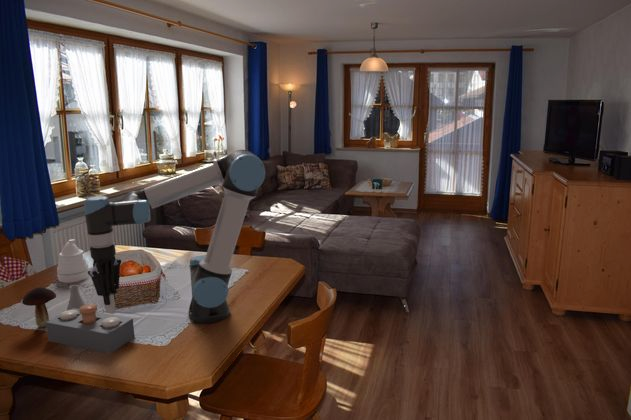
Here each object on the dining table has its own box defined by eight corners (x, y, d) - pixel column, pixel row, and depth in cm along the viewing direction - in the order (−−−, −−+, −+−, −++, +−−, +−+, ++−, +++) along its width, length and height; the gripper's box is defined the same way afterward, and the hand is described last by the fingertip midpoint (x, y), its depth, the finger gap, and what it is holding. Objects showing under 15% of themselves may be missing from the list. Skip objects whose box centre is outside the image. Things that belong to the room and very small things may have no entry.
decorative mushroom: (37, 336, 181) (31, 296, 178) (19, 328, 187) (13, 289, 184) (66, 324, 190) (61, 285, 187) (48, 317, 196) (43, 279, 193)
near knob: (125, 339, 177) (123, 318, 176) (113, 346, 172) (111, 325, 170) (112, 336, 179) (109, 316, 177) (100, 344, 174) (97, 323, 172)
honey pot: (95, 275, 239) (90, 237, 235) (69, 284, 229) (64, 245, 225) (78, 270, 246) (73, 233, 242) (52, 279, 236) (47, 240, 231)
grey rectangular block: (134, 337, 180) (132, 318, 178) (110, 353, 169) (107, 333, 167) (75, 326, 189) (73, 308, 187) (48, 341, 178) (45, 322, 176)
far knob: (83, 331, 183) (81, 311, 182) (71, 338, 178) (68, 317, 176) (71, 329, 185) (68, 308, 183) (58, 336, 180) (55, 315, 178)
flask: (79, 315, 198) (76, 290, 196) (62, 313, 199) (59, 289, 197) (91, 307, 205) (88, 283, 202) (74, 306, 206) (71, 282, 204)
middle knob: (103, 326, 180) (100, 305, 178) (91, 333, 174) (88, 311, 173) (90, 323, 181) (87, 303, 180) (77, 330, 176) (75, 309, 175)
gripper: (107, 238, 175) (115, 303, 181) (77, 249, 163) (87, 319, 169) (125, 239, 172) (133, 305, 178) (96, 251, 160) (106, 322, 166)
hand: (111, 312), depth 173 cm, fingers closed
